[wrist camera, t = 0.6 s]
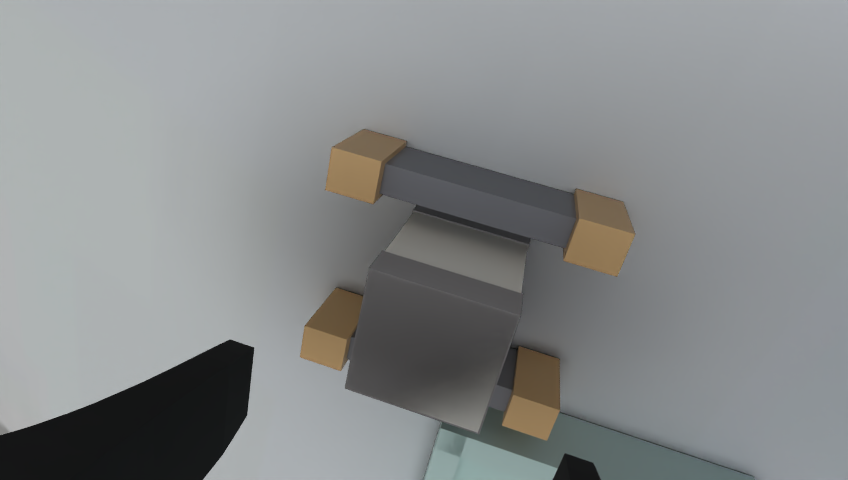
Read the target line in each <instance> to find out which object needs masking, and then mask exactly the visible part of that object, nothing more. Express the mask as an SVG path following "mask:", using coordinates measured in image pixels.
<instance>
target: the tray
mask: <svg viewBox="0 0 848 480" xmlns="http://www.w3.org/2000/svg"><path fill="white" fill-rule="evenodd" d="M503 414H504V411H501V410H498V409H495V408H492V407H489V408H488V410H487V413H486V416H485V419H484V422H483V425H482V427H481V430H480V433H479V434H476V433H473V432H470V431H467V430H464V429H461V428H459V427H456V426H453V425H450V424H447V423H444V422H441V424H440V427H439V430H438V433H437V437H436V440H435V443H434V446H433V449H432V453H431V456H430V459H429V462H428V466H427V469H426V472H425V475H424V479H423V480H553V478H554V476H555V473H556V471H557V469H558V467H559V465H560V462H561V460H562V458H563V456H564V454H565V453H566V454H569V455H572V456H575V457H578V458H581V459H584V460H587V461H590V462H593V463H594V465H595V467H596V469H597V471H598V474H599V476H600V479H601V480H755V479H754V477H752V476H749V475H746V474H743V473H740V472H737V471H734V470H731V469H728V468H725V467H722V466H719V465H716V464H713V463H710V462H707V461H704V460H701V459H698V458H695V457H692V456H689V455H686V454H683V453H680V452H677V451H674V450H671V449H668V448H665V447H662V446H659V445H656V444H653V443H650V442H647V441H644V440H641V439H638V438H635V437H632V436H629V435H626V434H623V433H619V432H616V431H613V430H610V429H607V428H604V427H601V426H598V425H595V424H592V423H589V422H586V421H583V420H580V419H577V418H574V417H571V416H568V415H565V414H562V413H559V414H558V416H557V419H556V421H555V423H554V426H553V428H552V430H551V433H550V435H549V437H548V440H547V441H546V440H543V439H540V438H537V437H534V436H531V435H528V434H525V433H522V432H519V431H516V430H513V429H510V428H507V427H504V426H502V421H503Z"/></svg>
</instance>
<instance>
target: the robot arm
mask: <svg viewBox="0 0 848 480" xmlns="http://www.w3.org/2000/svg"><path fill="white" fill-rule="evenodd" d="M253 354H254V347H251V346H248V345H245V344H242V343H239V342H236V341H233V340H228V341H226V342H224V343H222V344H220V345H218V346H216V347H214V348H212V349H209V350H207V351H205V352H203V353H201V354H199V355H197V356H195V357H193V358H191V359H189V360H187V361H185V362H183V363H181V364H179V365H177V366H175V367H173V368H171V369H169V370H167V371H165V372H163V373H161V374H159V375H157V376H155V377H152V378H150V379H148V380H146V381H144V382H142V383H140V384H138V385H135V386H133V387H131V388H128V389H126V390H124V391H121V392H119V393H117V394H115V395H112V396H110V397H108V398H105V399H103V400H101V401H98V402H96V403H94V404H91V405H89V406H86V407H84V408H81V409H78V410H76V411H73V412H70V413H68V414H65V415H62V416H59V417H56V418H53V419H51V420H48V421H45V422H42V423H39V424H36V425H33V426H30V427H27V428H24V429H21V430H17V431H14V432H10V433H7V434H3V435H0V480H203V479H204V477H205V476H206V475H207V474H208V472H209V471H210V470H211V469H212V467H213V466H214V465H215V464H216V462H217V461H218V460H219V459H220V457H221V456H222V455H223V453H224V452H225V450H226V448H227V447H228V445H229V444H230V442H231V441H232V439H233V438H234V436H235V434H236V433H237V431H238V429H239V428H240V426H241V424H242V423H243V421H244V420H245V418H246V416H247V411H248V401H249V392H250V383H251V373H252V364H253ZM553 480H601V479H600V476H599V474H598V471H597V469H596V467H595V465H594V463H593V462H590V461H587V460H584V459H581V458H578V457H575V456H572V455H569V454H566V453H565V454H564V456H563V458H562V460H561V462H560V465H559V467H558V469H557V471H556V473H555V476H554V478H553Z"/></svg>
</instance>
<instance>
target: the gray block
mask: <svg viewBox="0 0 848 480" xmlns="http://www.w3.org/2000/svg"><path fill="white" fill-rule="evenodd" d="M529 244H530V238H528V237H525V236H521V235H518V234H515V233H511V232H508V231H505V230H501V229H498V228H494V227H491V226H488V225H484V224H481V223H477V222H474V221H471V220H467V219H464V218H460V217H457V216H454V215H450V214H447V213H443V212H440V211H437V210H433V209H430V208H426V207H423V206H420V205H416V207H415V208H414V209H413V213H412V215H411V217H410V218H409V219H408V221H407V222H406V223H405V225H404V226H403V227H402V229H401V230H400V231H399V233H398V234H397V235H396V237H395V238H394V239H393V241H392V242H391V243H390V245H389V246H388V247H387V249H386V250H385V251H383V250H382V252H381V253H380V254H379V255H378V257H377V258H376V259H375V261H374V262H373V263H372V265H371V266H370V267H369V270H368V275H367V280H366V285H365V290H364V295H363V300H362V305H361V310H360V315H359V320H358V325H357V330H356V335H355V340H354V345H353V350H352V355H351V360H350V365H349V370H348V374H347V379H346V384H345V389H348V390H351V391H354V392H357V393H360V394H363V395H365V396H368V397H371V398H374V399H377V400H380V401H383V402H386V403H389V404H392V405H395V406H397V407H400V408H403V409H406V410H409V411H412V412H415V413H418V414H421V415H424V416H427V417H429V418H432V419H435V420H438V421H441V422H444V423H447V424H450V425H453V426H456V427H459V428H461V429H464V430H467V431H470V432H473V433H476V434H479V433H480V430H481V427H482V425H483V422H484V419H485V416H486V413H487V410H488V408H489V405H490V402H491V399H492V396H493V393H494V391H495V388H496V385H497V382H498V379H499V376H500V374H501V371H502V368H503V365H504V362H505V359H506V357H507V354H508V351H509V348H510V345H511V342H512V340H513V337H514V334H515V331H516V328H517V326H518V323H519V320H520V317H521V311H522V303H523V294H522V285H523V277H524V270H525V262H526V254H527V250H528V247H529Z"/></svg>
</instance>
